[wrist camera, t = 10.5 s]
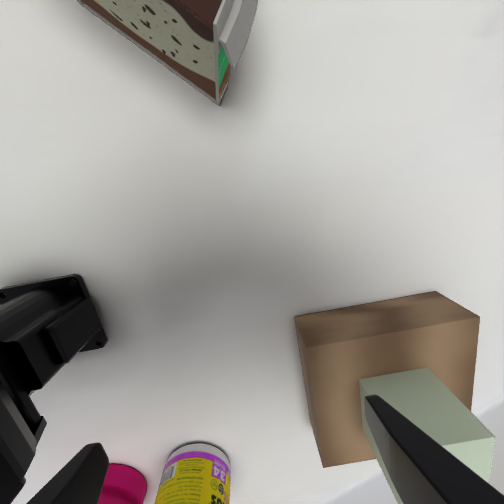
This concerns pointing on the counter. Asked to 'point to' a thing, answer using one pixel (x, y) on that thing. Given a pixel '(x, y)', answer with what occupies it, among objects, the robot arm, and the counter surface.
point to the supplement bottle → (195, 476)
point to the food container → (185, 35)
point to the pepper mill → (123, 486)
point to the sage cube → (431, 418)
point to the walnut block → (379, 361)
